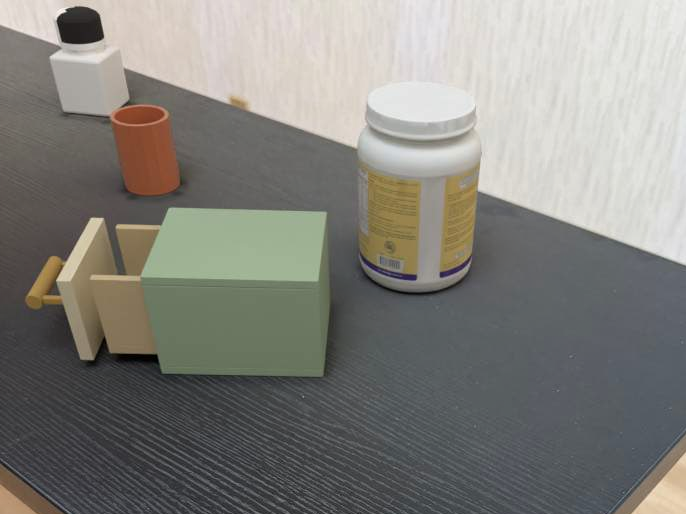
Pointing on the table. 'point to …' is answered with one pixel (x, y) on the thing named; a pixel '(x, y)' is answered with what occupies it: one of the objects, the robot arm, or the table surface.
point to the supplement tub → (418, 185)
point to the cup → (146, 149)
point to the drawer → (102, 290)
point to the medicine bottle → (87, 65)
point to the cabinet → (239, 292)
